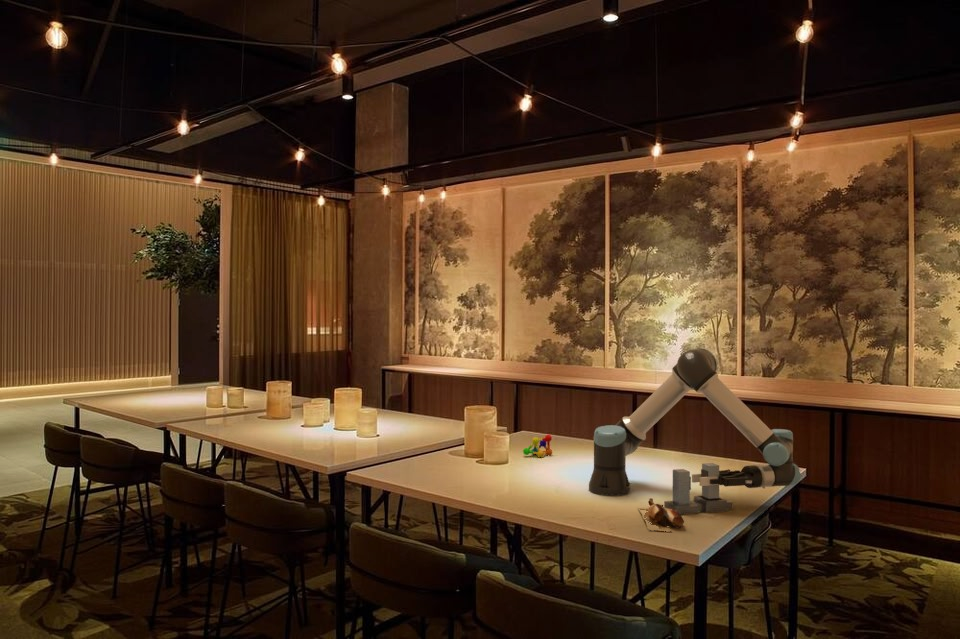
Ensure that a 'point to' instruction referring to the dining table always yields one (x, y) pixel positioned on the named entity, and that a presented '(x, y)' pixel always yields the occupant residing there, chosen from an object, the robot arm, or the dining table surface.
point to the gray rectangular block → (710, 471)
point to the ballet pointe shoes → (662, 516)
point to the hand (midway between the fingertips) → (696, 479)
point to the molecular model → (542, 443)
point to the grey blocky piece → (699, 502)
